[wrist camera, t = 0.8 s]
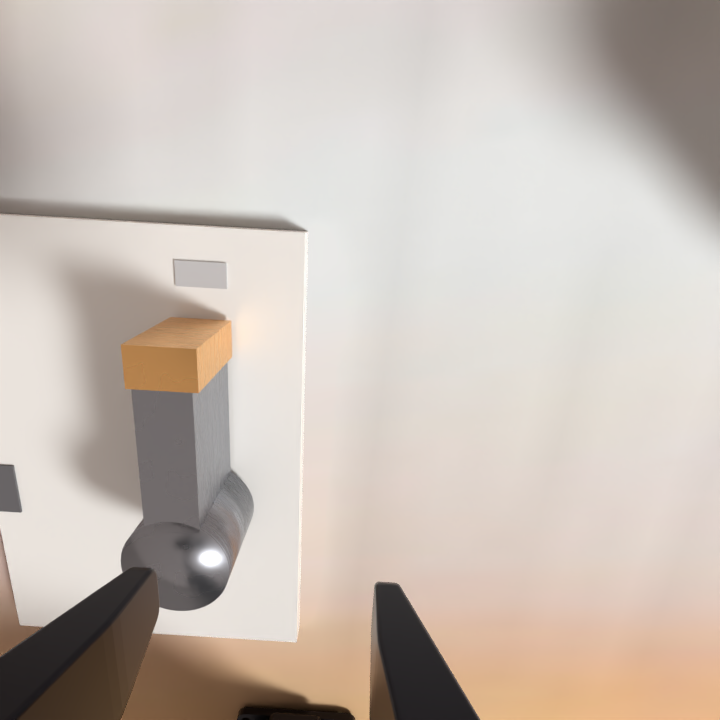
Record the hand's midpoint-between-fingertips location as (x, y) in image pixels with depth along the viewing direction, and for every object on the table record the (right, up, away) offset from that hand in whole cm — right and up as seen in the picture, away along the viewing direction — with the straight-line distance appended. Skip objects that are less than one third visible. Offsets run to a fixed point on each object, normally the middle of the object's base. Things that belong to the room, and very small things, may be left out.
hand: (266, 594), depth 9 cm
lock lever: (-5, +1, +12) cm, 13 cm away
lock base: (-8, 0, +14) cm, 16 cm away
